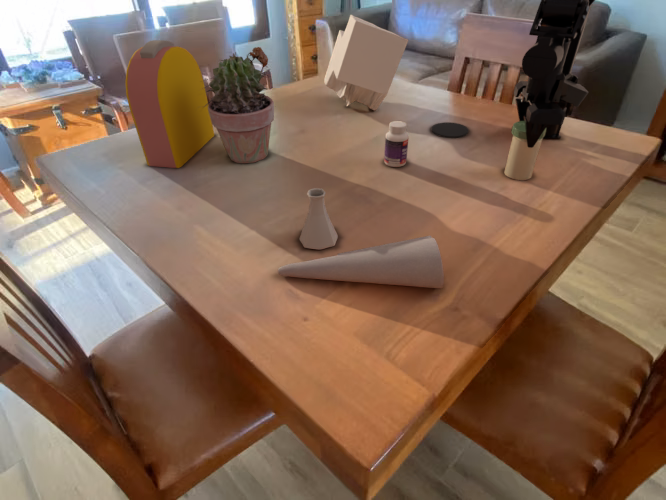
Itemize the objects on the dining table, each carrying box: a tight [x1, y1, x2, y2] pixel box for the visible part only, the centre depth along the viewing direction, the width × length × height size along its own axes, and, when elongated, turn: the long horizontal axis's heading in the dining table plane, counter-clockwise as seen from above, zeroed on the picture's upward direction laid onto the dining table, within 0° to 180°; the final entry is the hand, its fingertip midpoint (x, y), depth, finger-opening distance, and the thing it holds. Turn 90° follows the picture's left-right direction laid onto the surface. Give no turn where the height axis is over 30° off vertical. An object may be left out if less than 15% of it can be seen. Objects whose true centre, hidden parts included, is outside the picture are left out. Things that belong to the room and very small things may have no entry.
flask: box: [299, 187, 339, 250], centre depth 77 cm, size 7×7×10 cm
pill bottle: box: [383, 120, 410, 168], centre depth 101 cm, size 5×5×10 cm
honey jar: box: [503, 135, 544, 181], centre depth 95 cm, size 6×6×10 cm
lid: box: [510, 120, 546, 140], centre depth 92 cm, size 7×7×2 cm
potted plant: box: [200, 46, 275, 164], centre depth 101 cm, size 18×20×25 cm
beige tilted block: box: [323, 14, 409, 112], centre depth 130 cm, size 20×16×25 cm
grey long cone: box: [277, 235, 445, 289], centre depth 68 cm, size 8×9×26 cm
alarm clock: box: [124, 39, 215, 169], centre depth 105 cm, size 21×9×26 cm, turn 168°
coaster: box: [431, 121, 469, 139], centre depth 119 cm, size 10×10×1 cm
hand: (527, 140), depth 93 cm, fingers closed on lid, 6 cm apart
